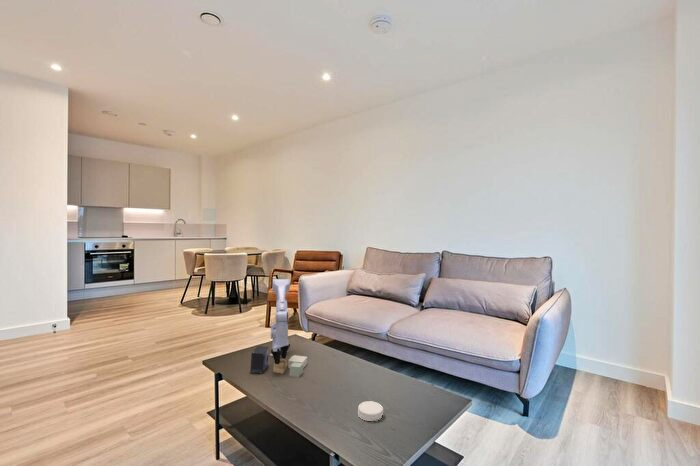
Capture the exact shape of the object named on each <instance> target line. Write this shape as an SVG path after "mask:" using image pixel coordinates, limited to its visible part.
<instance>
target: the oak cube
mask: <svg viewBox="0 0 700 466" xmlns="http://www.w3.org/2000/svg"><path fill="white" fill-rule="evenodd" d="M287 368H288V360H287V359H283V358H280V363H279V364H275V361H274V362H273V373H277V374H284V373H285V371H287Z"/></svg>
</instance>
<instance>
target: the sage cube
mask: <svg viewBox="0 0 700 466" xmlns="http://www.w3.org/2000/svg"><path fill="white" fill-rule="evenodd" d="M303 373H304V368H303V363H296V362H294V363H293V364H292V365H291V366H290V368H289V377H293V378H294V377H295V378H300V377H301V376H302V375H303Z"/></svg>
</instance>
